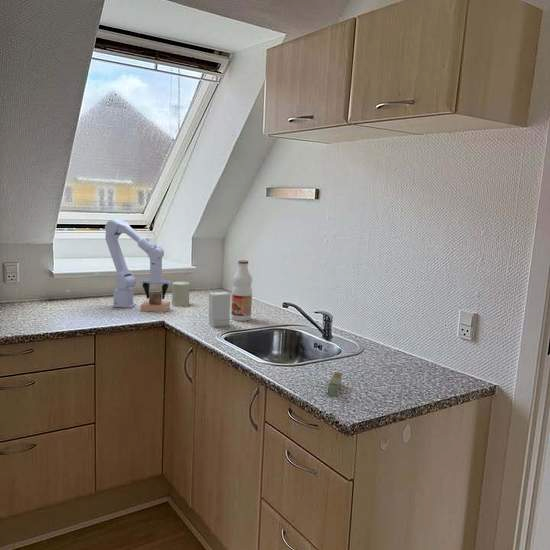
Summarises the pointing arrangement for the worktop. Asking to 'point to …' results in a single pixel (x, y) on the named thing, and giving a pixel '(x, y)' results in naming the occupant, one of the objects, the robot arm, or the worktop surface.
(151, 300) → the walnut cube
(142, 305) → the tan rectangular block
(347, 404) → the worktop surface
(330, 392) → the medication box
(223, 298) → the skincare box
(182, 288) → the can
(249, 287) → the fruit juice
